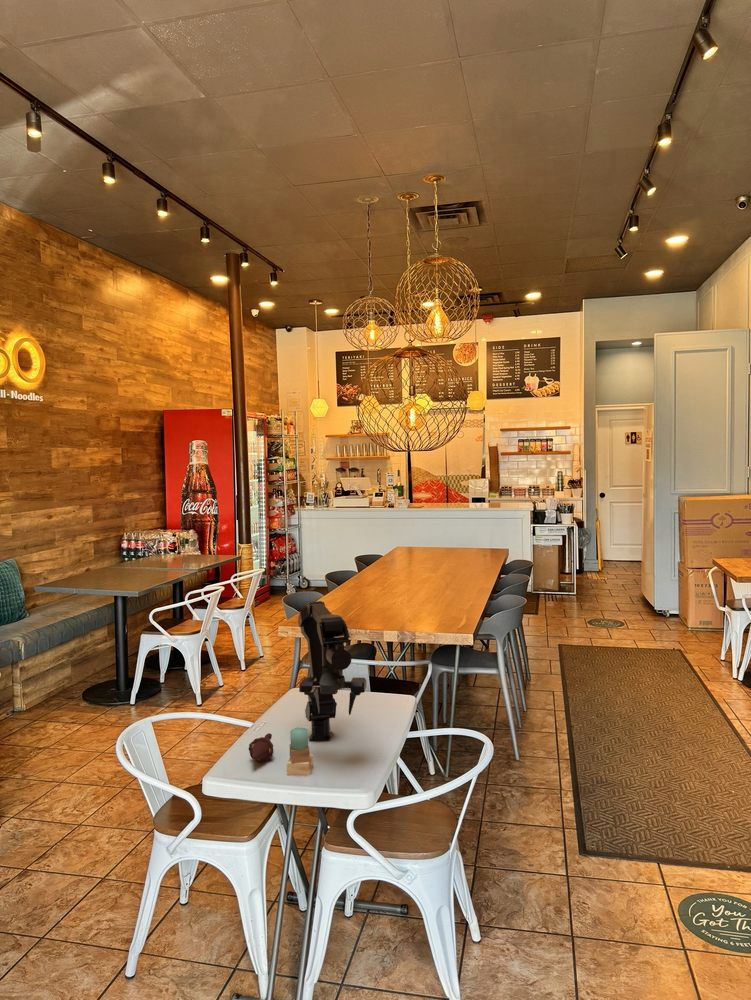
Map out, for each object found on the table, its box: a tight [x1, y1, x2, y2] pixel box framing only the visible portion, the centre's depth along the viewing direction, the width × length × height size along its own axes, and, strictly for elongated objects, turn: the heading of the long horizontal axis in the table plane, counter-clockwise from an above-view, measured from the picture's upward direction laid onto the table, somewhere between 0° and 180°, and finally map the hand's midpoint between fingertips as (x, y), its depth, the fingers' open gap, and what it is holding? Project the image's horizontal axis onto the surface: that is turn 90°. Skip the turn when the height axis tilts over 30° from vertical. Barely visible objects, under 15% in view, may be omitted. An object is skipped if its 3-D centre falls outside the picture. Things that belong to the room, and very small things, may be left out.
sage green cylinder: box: [289, 727, 309, 750], centre depth 194 cm, size 5×5×4 cm
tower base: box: [286, 754, 314, 776], centre depth 194 cm, size 6×6×4 cm
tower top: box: [289, 743, 311, 764], centre depth 194 cm, size 5×5×4 cm
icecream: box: [248, 732, 274, 763], centre depth 202 cm, size 7×7×15 cm
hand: (334, 714), depth 201 cm, fingers open, 9 cm apart
